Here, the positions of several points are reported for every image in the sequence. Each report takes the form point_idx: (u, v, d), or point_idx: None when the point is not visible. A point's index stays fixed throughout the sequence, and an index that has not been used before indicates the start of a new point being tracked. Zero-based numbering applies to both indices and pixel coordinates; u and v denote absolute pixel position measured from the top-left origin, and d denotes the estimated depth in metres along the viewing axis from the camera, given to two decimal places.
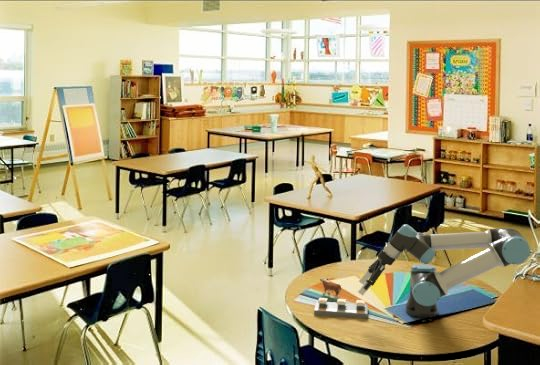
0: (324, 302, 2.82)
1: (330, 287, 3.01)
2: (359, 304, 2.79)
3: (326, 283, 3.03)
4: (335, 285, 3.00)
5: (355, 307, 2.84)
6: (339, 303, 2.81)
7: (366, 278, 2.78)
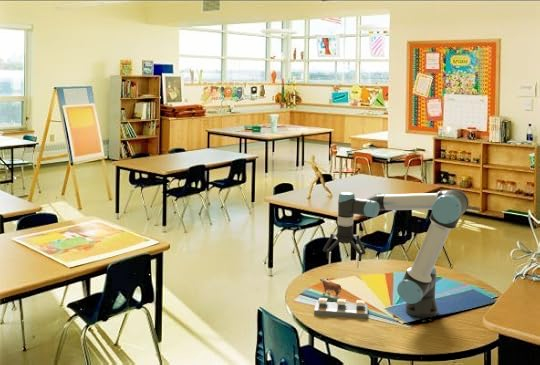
0: (324, 302, 2.82)
1: (330, 287, 3.01)
2: (359, 304, 2.79)
3: (326, 283, 3.03)
4: (335, 285, 3.00)
5: (355, 307, 2.84)
6: (339, 303, 2.81)
7: (357, 260, 2.85)
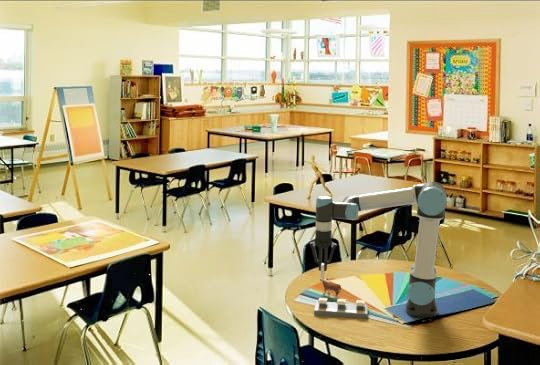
0: (324, 302, 2.82)
1: (330, 287, 3.01)
2: (359, 304, 2.79)
3: (326, 283, 3.03)
4: (335, 285, 3.00)
5: (355, 307, 2.84)
6: (339, 303, 2.81)
7: None
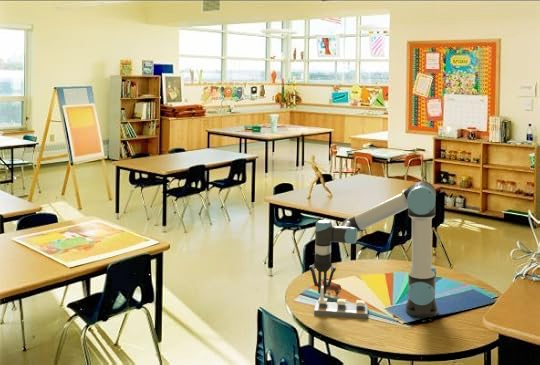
0: (324, 302, 2.82)
1: (330, 287, 3.01)
2: (359, 304, 2.79)
3: None
4: (335, 285, 3.00)
5: (355, 307, 2.84)
6: (339, 303, 2.81)
7: None
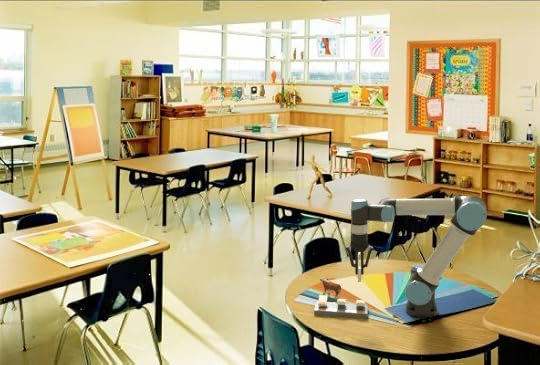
0: (324, 305, 2.82)
1: (330, 287, 3.01)
2: (359, 304, 2.79)
3: (326, 283, 3.03)
4: (335, 285, 3.00)
5: (355, 307, 2.84)
6: (339, 303, 2.81)
7: None
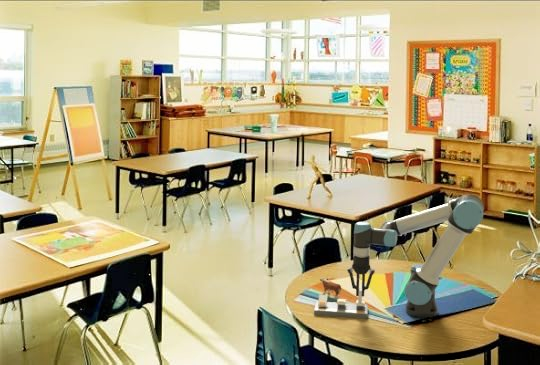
0: (324, 305, 2.83)
1: (330, 287, 3.01)
2: (359, 304, 2.79)
3: (326, 283, 3.03)
4: (335, 285, 3.00)
5: (355, 307, 2.84)
6: (339, 303, 2.81)
7: None
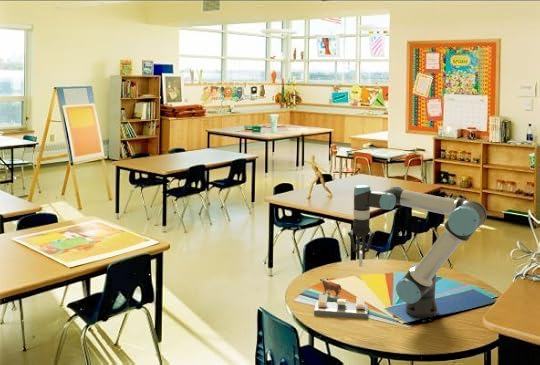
0: (324, 306, 2.83)
1: (330, 287, 3.01)
2: (359, 307, 2.80)
3: (326, 283, 3.03)
4: (335, 285, 3.00)
5: (355, 307, 2.84)
6: (339, 303, 2.81)
7: None
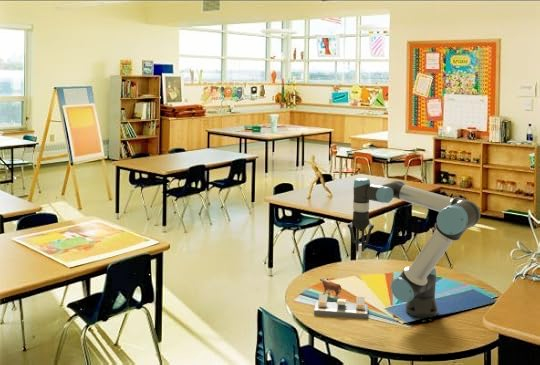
0: (324, 306, 2.83)
1: (330, 287, 3.01)
2: (359, 308, 2.80)
3: (326, 283, 3.03)
4: (335, 285, 3.00)
5: (355, 307, 2.84)
6: (339, 303, 2.81)
7: None
